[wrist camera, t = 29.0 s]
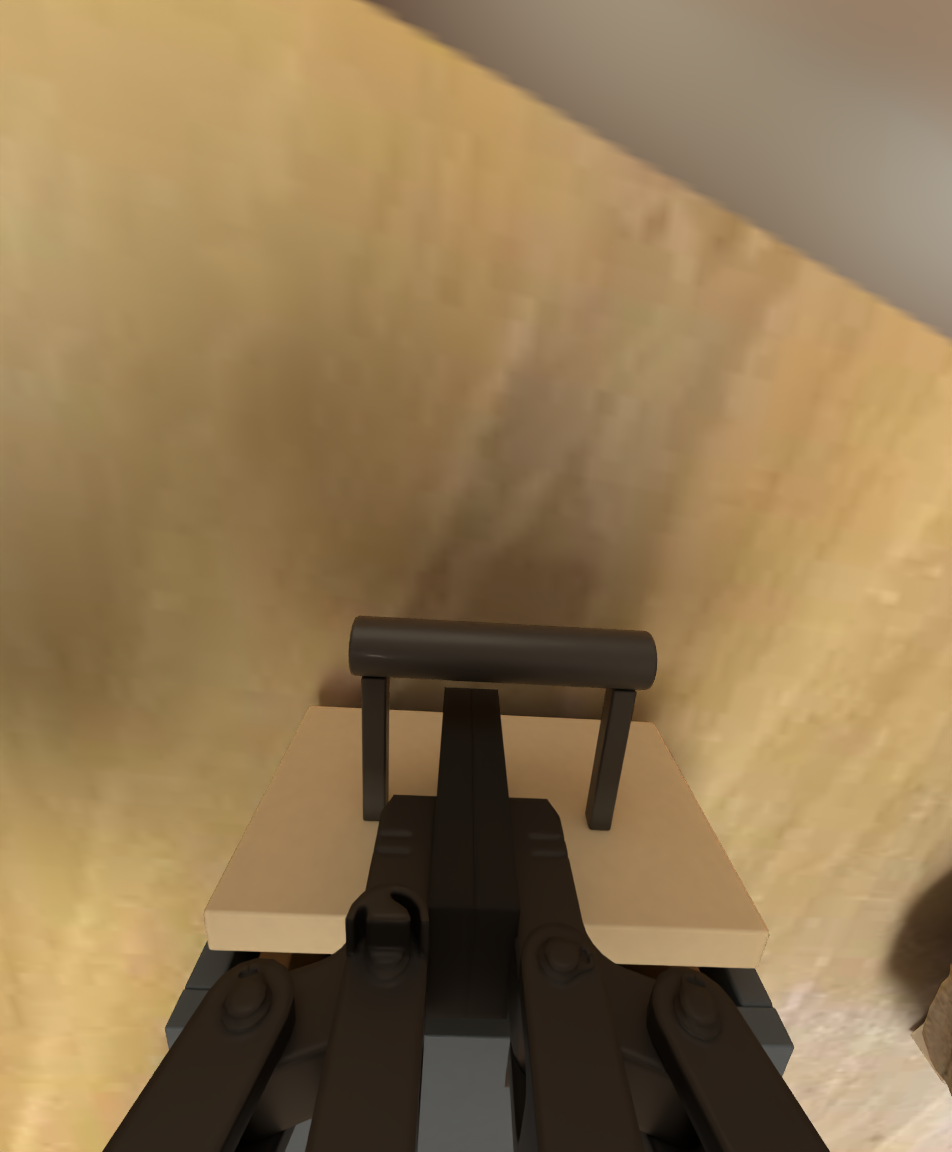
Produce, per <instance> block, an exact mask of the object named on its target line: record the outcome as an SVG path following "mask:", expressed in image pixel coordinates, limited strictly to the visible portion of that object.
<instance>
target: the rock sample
mask: <svg viewBox="0 0 952 1152" xmlns="http://www.w3.org/2000/svg"><path fill="white" fill-rule="evenodd" d="M922 1035H923V1038H924V1041H925V1045H926V1048H927V1051H928V1054H929V1057H930V1060H931V1062H932V1064H933V1066H934V1068H935V1070H936V1071H937V1072H938V1073H939V1075H940V1076H941V1077H942V1078H943V1080H944V1081H945V1082H946V1083H947V1085H948V1087H949V1090H950V1093H951V1096H952V964H951V965H950V975H949V977H948V978H946V979H945V980H944V981H943V982H942V983H941V986H940V988H939V990H938V992H937V994H936V996H935V998H934V1000H933V1002H932V1004H931V1005H930V1007H929V1011H928V1014H927V1017H926V1020H925V1023H924V1027H923V1031H922Z"/></svg>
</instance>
